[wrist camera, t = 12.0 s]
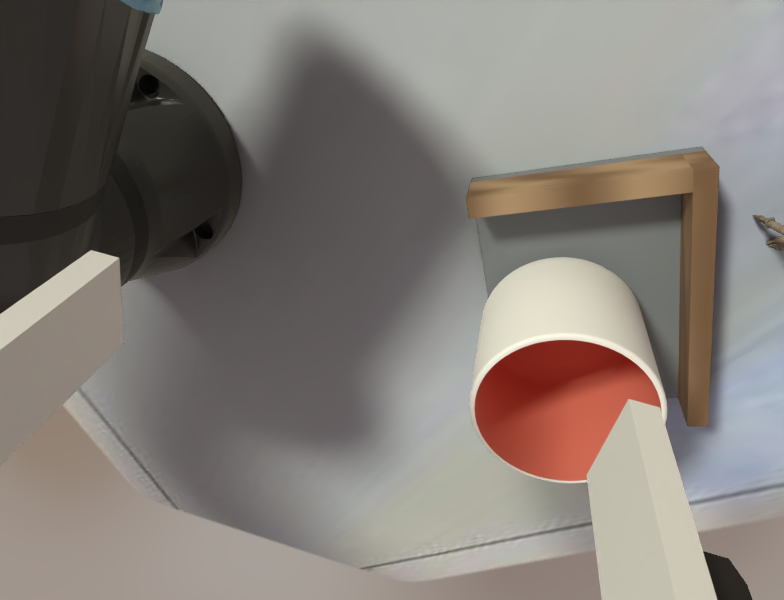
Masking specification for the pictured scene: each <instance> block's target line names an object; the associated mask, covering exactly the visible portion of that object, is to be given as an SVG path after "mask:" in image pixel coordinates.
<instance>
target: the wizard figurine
mask: <svg viewBox="0 0 784 600" xmlns="http://www.w3.org/2000/svg"><path fill="white" fill-rule="evenodd" d="M753 216H754V217H755V219H756V220H757V221H759V222H762V223H764V224H765V227H766V228H771V229H773V230H775V231H777V232H779V233H781V234H783V235H784V226H783V225H781V224H779V223H777V222H775V219H774V218H765V217H763V216H761V215H760V216H758V215H753ZM773 242H774V243H773ZM771 243H773V244H771ZM766 244H770V245H769V247H771V246H772V248H773V247H777V248H775V249H780V250H782V249H784V236H780V237H776V238H775V239H772V240H769V241H767V242H766ZM774 245H775V246H774Z"/></svg>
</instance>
